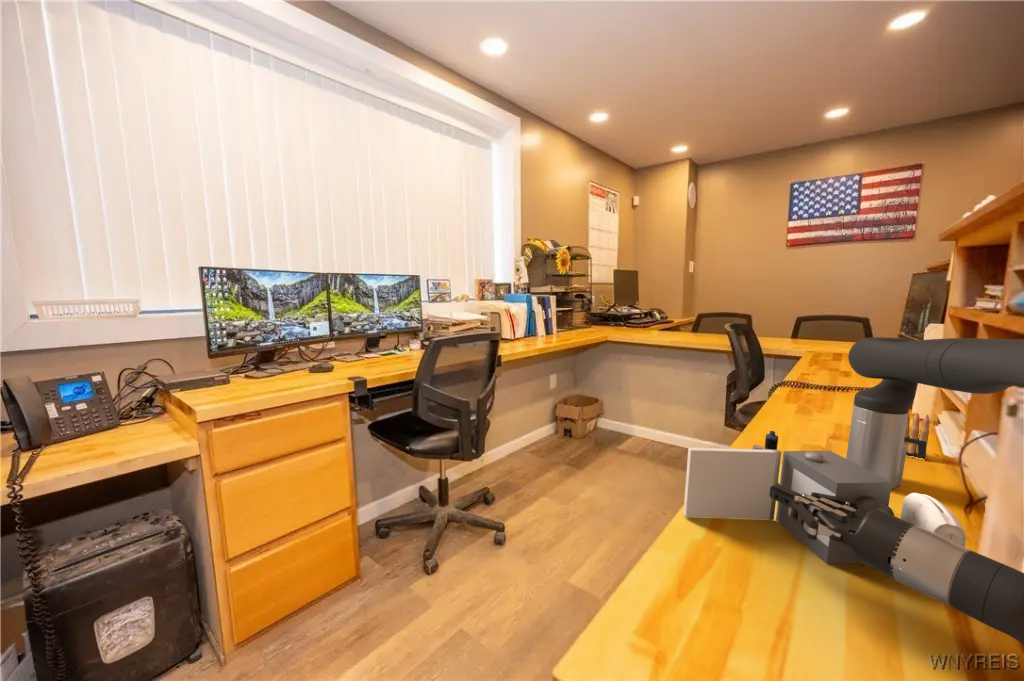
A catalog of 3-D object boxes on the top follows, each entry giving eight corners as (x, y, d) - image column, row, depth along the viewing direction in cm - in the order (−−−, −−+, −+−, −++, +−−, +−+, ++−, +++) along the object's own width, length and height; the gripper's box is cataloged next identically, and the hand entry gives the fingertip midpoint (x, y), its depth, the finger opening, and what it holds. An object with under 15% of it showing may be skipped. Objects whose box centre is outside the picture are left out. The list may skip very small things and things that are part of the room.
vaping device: (775, 485, 91) (781, 434, 89) (750, 482, 92) (755, 432, 90) (770, 479, 93) (776, 430, 92) (746, 477, 94) (750, 428, 93)
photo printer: (960, 603, 58) (975, 523, 56) (920, 593, 59) (934, 516, 58) (923, 558, 67) (935, 489, 65) (889, 551, 69) (900, 483, 67)
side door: (775, 520, 77) (783, 452, 75) (685, 517, 77) (691, 450, 75) (769, 514, 79) (776, 448, 77) (682, 511, 79) (687, 446, 77)
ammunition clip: (870, 447, 112) (876, 406, 110) (871, 446, 113) (877, 404, 111) (924, 461, 104) (932, 416, 102) (925, 459, 105) (933, 414, 103)
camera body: (821, 519, 78) (830, 446, 76) (893, 572, 64) (907, 485, 62) (775, 520, 78) (783, 447, 75) (837, 573, 63) (850, 485, 61)
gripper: (937, 514, 54) (797, 460, 69) (891, 543, 48) (749, 478, 63) (927, 563, 55) (792, 500, 70) (881, 599, 49) (744, 521, 65)
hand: (772, 490), depth 67 cm, fingers closed
